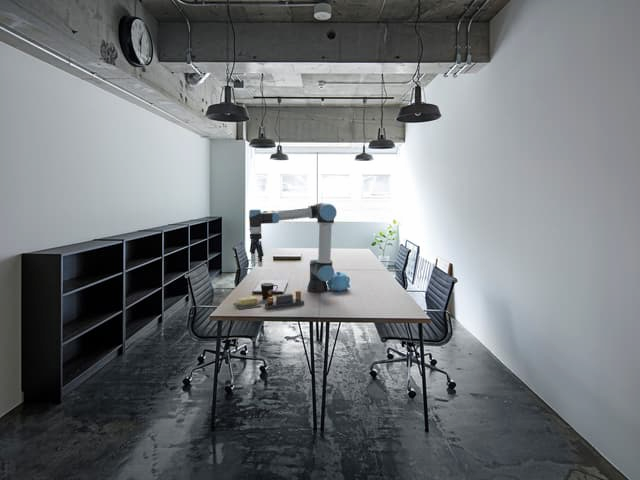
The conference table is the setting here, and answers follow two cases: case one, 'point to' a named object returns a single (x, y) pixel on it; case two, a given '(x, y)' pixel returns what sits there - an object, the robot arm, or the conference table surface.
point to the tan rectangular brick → (247, 301)
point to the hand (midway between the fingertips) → (256, 264)
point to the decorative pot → (339, 282)
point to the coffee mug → (267, 290)
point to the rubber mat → (247, 306)
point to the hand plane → (284, 301)
